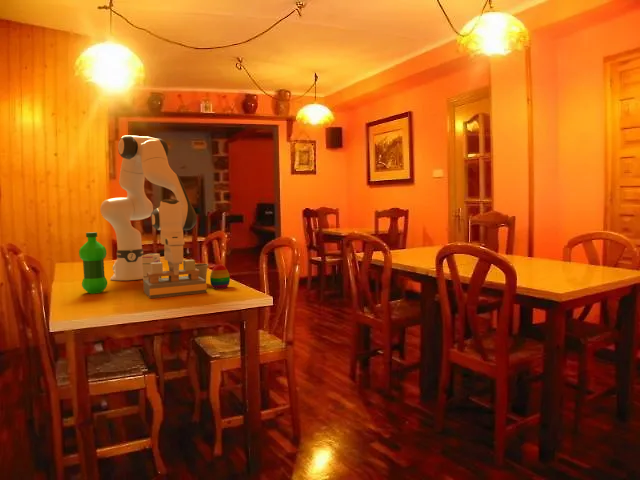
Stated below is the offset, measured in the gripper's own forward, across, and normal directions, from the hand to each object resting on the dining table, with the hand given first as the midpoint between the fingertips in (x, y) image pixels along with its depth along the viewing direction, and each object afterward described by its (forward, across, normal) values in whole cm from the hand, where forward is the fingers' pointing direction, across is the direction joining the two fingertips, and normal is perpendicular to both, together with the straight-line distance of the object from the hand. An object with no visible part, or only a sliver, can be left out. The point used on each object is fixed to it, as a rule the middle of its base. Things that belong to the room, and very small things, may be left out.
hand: (173, 273), depth 220 cm
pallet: (+3, 0, 0) cm, 3 cm away
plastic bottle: (+8, -19, -29) cm, 36 cm away
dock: (+8, 0, 0) cm, 8 cm away
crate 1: (-1, 0, -7) cm, 7 cm away
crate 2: (-1, 0, +6) cm, 6 cm away
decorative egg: (+8, 0, +19) cm, 21 cm away
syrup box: (+8, -18, -6) cm, 21 cm away
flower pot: (+8, -14, +13) cm, 21 cm away
